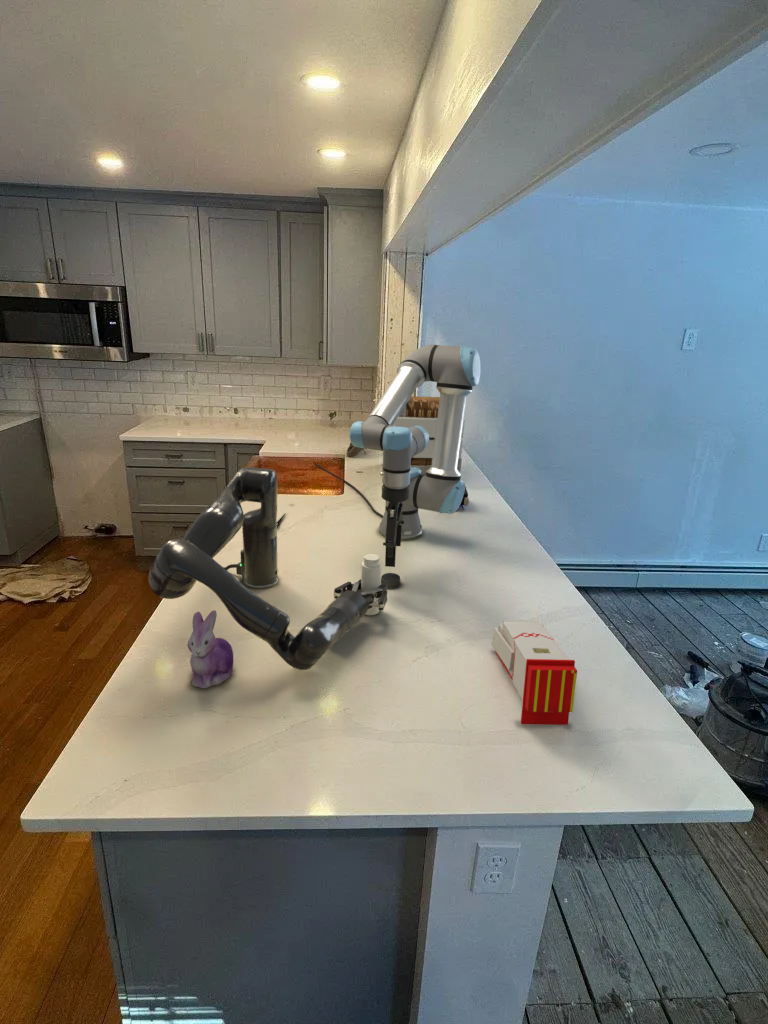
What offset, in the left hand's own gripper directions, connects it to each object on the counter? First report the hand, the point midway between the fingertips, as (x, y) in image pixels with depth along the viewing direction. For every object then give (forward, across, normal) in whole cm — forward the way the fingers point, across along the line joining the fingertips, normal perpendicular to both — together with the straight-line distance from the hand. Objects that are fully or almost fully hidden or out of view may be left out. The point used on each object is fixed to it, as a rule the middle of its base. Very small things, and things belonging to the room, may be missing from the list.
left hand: (374, 583), depth 149 cm
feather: (+44, -58, -7) cm, 73 cm away
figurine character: (+91, -5, -7) cm, 91 cm away
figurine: (-44, -17, -7) cm, 47 cm away
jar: (-3, 0, -7) cm, 7 cm away
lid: (+14, -1, -5) cm, 15 cm away
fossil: (+146, -78, -7) cm, 166 cm away
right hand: (+15, -1, +2) cm, 15 cm away
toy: (-14, +43, -7) cm, 46 cm away
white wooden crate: (+128, -36, -7) cm, 133 cm away
